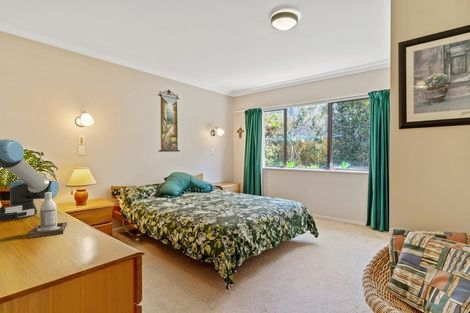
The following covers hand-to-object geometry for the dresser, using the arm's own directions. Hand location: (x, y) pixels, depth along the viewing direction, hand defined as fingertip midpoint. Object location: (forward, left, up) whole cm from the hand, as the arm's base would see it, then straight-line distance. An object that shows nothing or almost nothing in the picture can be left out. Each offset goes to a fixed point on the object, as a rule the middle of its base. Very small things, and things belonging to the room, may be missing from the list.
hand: (27, 209), depth 123 cm
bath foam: (-5, +7, -13) cm, 16 cm away
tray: (-5, +8, -14) cm, 16 cm away
